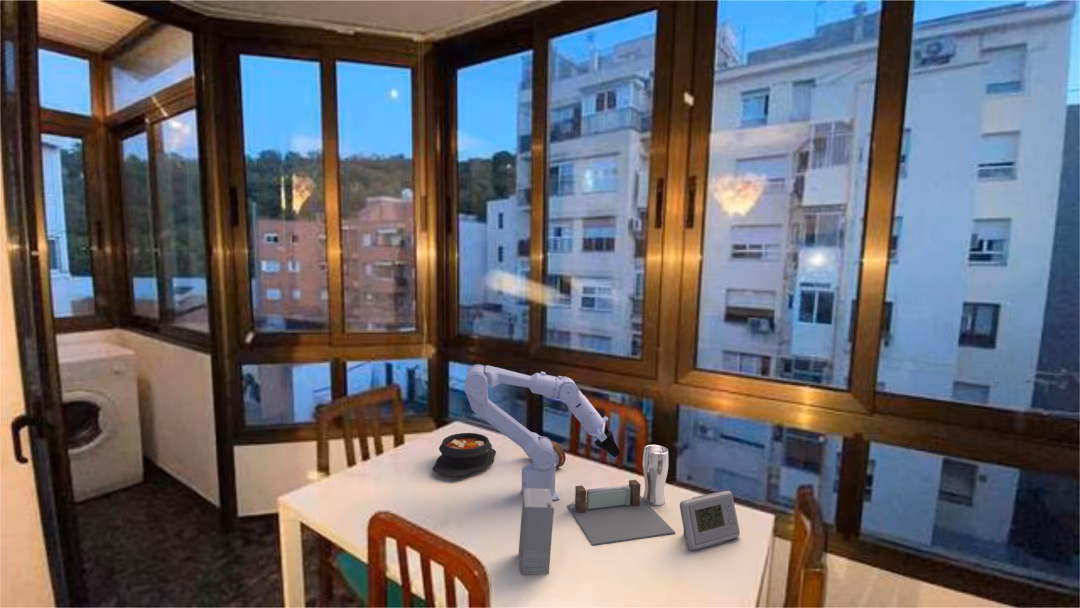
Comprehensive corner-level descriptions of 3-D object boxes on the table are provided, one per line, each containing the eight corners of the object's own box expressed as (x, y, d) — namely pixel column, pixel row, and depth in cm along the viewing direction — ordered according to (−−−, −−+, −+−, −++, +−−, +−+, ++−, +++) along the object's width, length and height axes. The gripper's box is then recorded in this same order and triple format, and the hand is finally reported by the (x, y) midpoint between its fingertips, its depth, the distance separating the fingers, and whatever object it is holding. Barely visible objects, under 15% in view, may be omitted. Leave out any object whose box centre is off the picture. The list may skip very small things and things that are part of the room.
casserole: (469, 487, 144) (469, 460, 144) (417, 475, 152) (417, 448, 151) (508, 456, 167) (509, 433, 166) (462, 447, 175) (462, 424, 174)
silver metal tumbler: (664, 495, 142) (666, 445, 140) (668, 507, 135) (670, 454, 134) (640, 493, 143) (642, 443, 141) (642, 505, 136) (644, 453, 134)
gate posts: (578, 514, 130) (579, 491, 130) (574, 509, 133) (575, 486, 132) (639, 507, 135) (640, 484, 134) (634, 501, 138) (635, 479, 137)
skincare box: (518, 552, 113) (519, 486, 111) (549, 551, 114) (550, 486, 112) (519, 576, 105) (521, 505, 103) (553, 575, 105) (554, 504, 104)
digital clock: (687, 553, 114) (689, 510, 113) (669, 532, 123) (670, 491, 122) (748, 546, 118) (751, 503, 117) (726, 526, 126) (729, 486, 125)
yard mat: (592, 545, 116) (592, 543, 116) (567, 506, 135) (567, 504, 135) (675, 533, 122) (675, 532, 122) (640, 497, 140) (640, 496, 140)
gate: (588, 509, 131) (589, 491, 131) (585, 506, 133) (586, 487, 133) (629, 504, 135) (630, 486, 134) (626, 501, 136) (627, 483, 136)
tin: (565, 470, 158) (566, 444, 157) (559, 473, 155) (560, 447, 154) (530, 457, 167) (531, 433, 167) (524, 459, 165) (525, 435, 164)
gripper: (602, 413, 132) (631, 451, 133) (592, 397, 146) (619, 431, 148) (581, 429, 132) (611, 467, 134) (574, 412, 146) (601, 446, 148)
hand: (614, 449), depth 141 cm, fingers open, 7 cm apart
